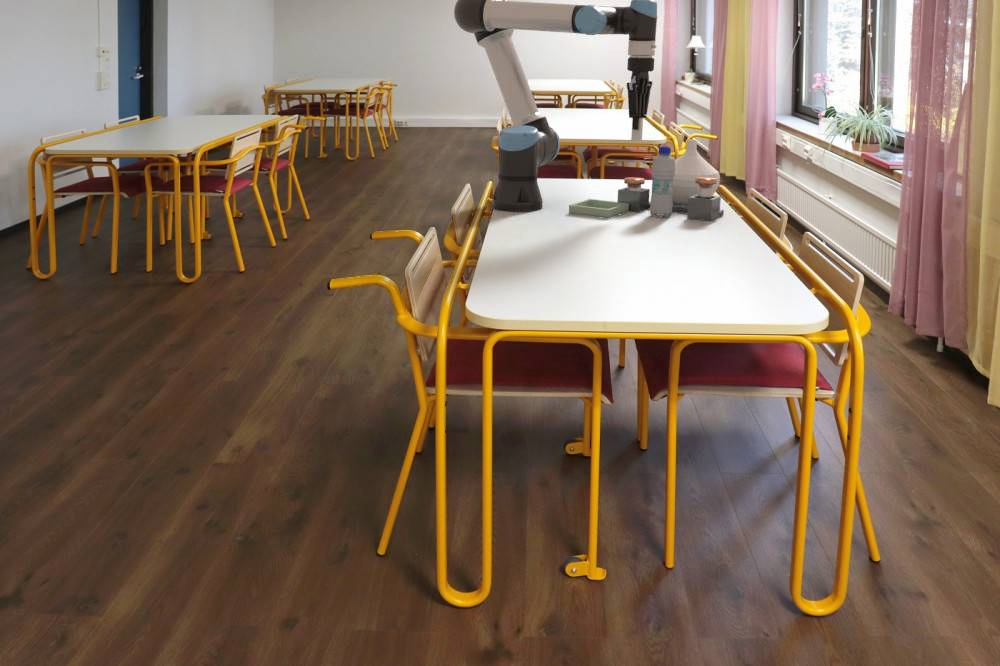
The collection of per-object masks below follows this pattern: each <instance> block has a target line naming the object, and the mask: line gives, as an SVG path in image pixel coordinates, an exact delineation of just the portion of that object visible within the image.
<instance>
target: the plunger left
mask: <svg viewBox="0 0 1000 666" xmlns="http://www.w3.org/2000/svg"><path fill="white" fill-rule="evenodd" d="M645 181H646V180H645V178H643V177H624V179H623V183H624V184H626V187H627V190H629V191H641V188H642V185H644V184H645Z"/></svg>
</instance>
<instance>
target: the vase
mask: <svg viewBox="0 0 1000 666" xmlns="http://www.w3.org/2000/svg"><path fill="white" fill-rule="evenodd" d="M697 144H698V139H687V142H686V148H685V151H684V152H683V153H682V154H681V155H680V156H679V157H676V159H675V175H674V177H673V193H672V204H674V205H681V206H688V199H689V197H691V196H694V195H696V194H698V185H699V184H697V183H695V178H697V177H711V178H716V179H717V184H713V190H712V196H715V193H716V191H717V189H718V187H719V186H720V179H721V176H720V172H719V171H718V170H717V169H716V168H714V166H712V165H711V164H710V163H709V162H708V161H707V160H705V158H704V157H702V156H701V155H700V153H699V152H698V150H697V146H698V145H697Z"/></svg>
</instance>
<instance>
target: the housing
mask: <svg viewBox="0 0 1000 666" xmlns="http://www.w3.org/2000/svg"><path fill="white" fill-rule="evenodd" d="M650 192H651V191H650V188H644V187H641V191H629V190H627V186H626V187H623V188H620V189H618V190H617V202H622V203H629V212H630V213H642V212H644V211H647V210H650V203H651V201H650ZM721 198H722V197H721V196H720V195H713V196H712V199H704V198H698V194H696V195H694V196H691V197H689V199H688V205H680V204H672V213H677V214H679V213H681V214H686V215H687V216H686V219H689V220H698V221H705V222H707V221H708V222H711V221H714V220H716V219H718V217H719V218H721V217H723V216H724V209H723V210H722V209H721ZM722 215H723V216H722ZM720 216H721V217H720Z"/></svg>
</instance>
